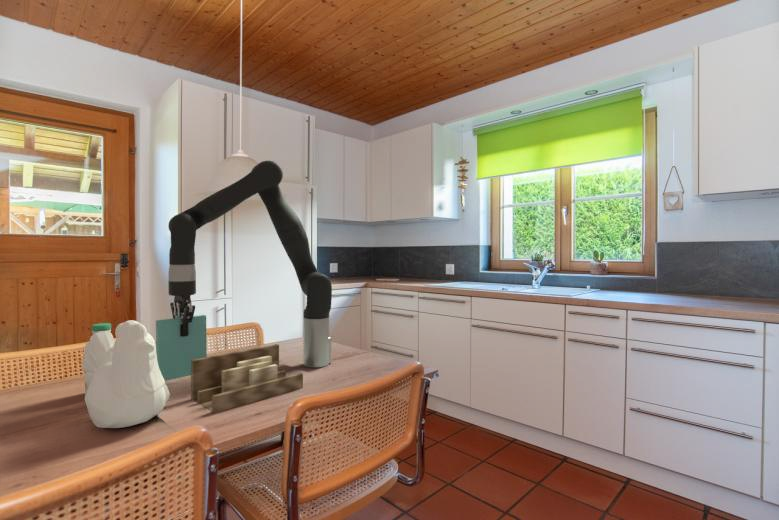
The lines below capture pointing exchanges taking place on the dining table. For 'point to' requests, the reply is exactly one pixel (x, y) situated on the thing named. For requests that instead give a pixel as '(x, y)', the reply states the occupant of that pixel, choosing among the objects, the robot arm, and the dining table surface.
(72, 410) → the dining table surface
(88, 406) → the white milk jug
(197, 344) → the teal panel
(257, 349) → the walnut rack
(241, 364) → the offcut stack
